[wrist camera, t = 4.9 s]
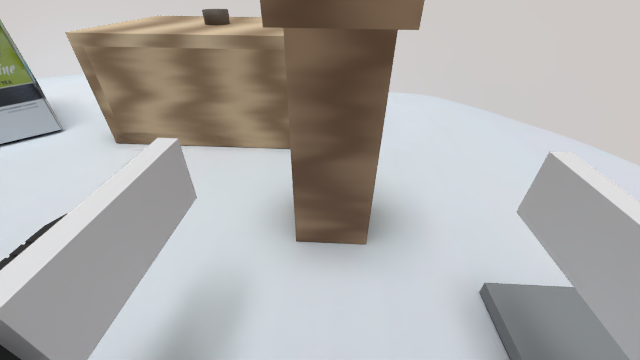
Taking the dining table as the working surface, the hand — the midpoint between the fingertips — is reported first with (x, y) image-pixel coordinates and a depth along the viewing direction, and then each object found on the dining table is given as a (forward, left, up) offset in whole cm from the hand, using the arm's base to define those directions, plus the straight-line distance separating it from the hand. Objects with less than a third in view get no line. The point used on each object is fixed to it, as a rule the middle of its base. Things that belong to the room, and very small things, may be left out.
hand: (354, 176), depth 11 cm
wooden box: (-13, +22, -8) cm, 27 cm away
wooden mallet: (-1, +5, -8) cm, 9 cm away
